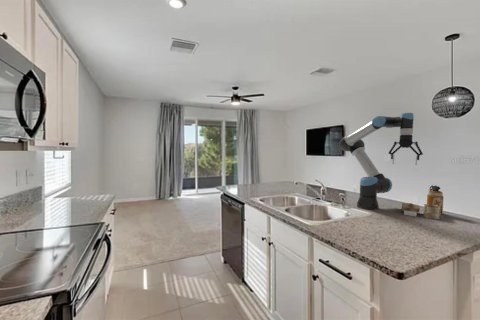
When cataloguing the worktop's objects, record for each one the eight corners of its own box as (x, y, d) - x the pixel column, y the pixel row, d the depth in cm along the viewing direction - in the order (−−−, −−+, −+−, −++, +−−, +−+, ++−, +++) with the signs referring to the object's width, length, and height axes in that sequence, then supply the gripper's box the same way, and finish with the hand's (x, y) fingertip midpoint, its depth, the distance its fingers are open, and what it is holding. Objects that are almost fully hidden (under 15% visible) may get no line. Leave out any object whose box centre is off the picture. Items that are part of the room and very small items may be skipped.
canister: (429, 214, 168) (431, 186, 167) (422, 210, 179) (424, 183, 178) (445, 215, 166) (446, 187, 164) (437, 211, 176) (438, 184, 175)
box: (424, 217, 160) (425, 207, 160) (423, 213, 169) (424, 204, 169) (440, 219, 156) (440, 209, 155) (438, 215, 165) (439, 205, 164)
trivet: (403, 214, 166) (404, 210, 166) (404, 210, 177) (404, 206, 177) (416, 216, 162) (416, 212, 162) (415, 212, 173) (416, 208, 173)
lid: (401, 210, 167) (401, 204, 167) (402, 206, 177) (402, 200, 177) (419, 212, 161) (419, 206, 161) (418, 208, 172) (419, 202, 171)
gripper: (385, 134, 175) (383, 163, 176) (428, 134, 160) (426, 165, 162) (386, 135, 181) (384, 163, 182) (427, 134, 166) (425, 165, 168)
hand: (404, 164), depth 172 cm, fingers open, 13 cm apart
